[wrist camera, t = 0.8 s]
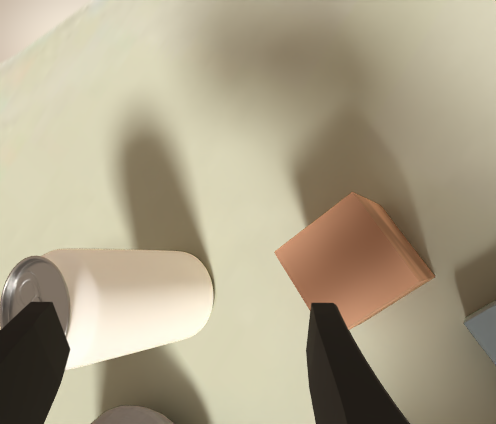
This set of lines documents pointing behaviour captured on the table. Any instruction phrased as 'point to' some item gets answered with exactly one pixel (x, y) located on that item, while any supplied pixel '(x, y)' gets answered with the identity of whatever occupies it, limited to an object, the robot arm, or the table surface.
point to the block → (353, 260)
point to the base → (484, 328)
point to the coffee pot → (131, 416)
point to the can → (113, 298)
